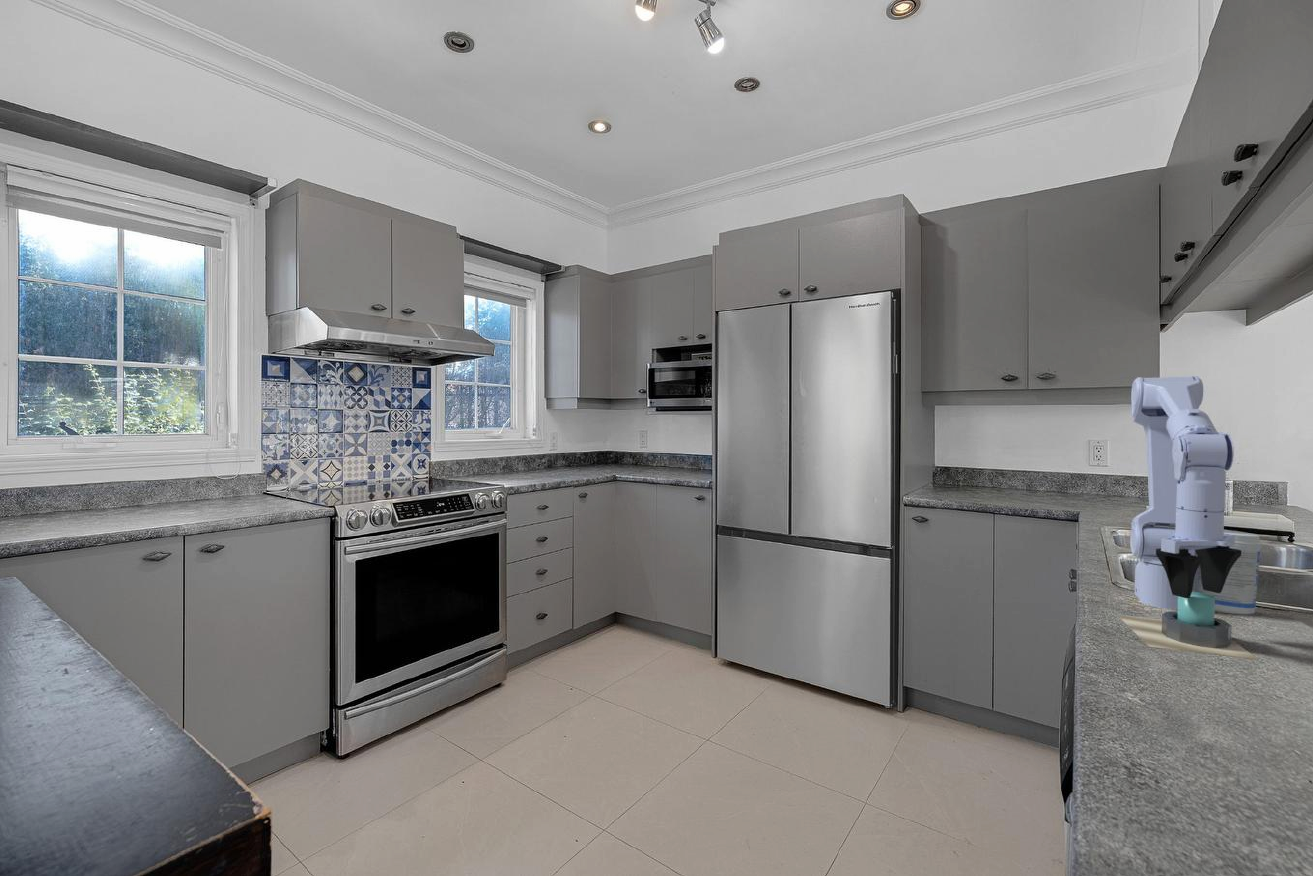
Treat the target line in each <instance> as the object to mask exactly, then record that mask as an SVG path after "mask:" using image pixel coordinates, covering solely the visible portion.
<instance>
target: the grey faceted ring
mask: <svg viewBox="0 0 1313 876" xmlns="http://www.w3.org/2000/svg"><path fill="white" fill-rule="evenodd" d="M1177 615H1178V610H1175V611H1165V612H1164V613H1163V614H1162V615H1161V619H1162V633H1163V634H1164V635H1165V636H1166V637H1168V638H1171V639H1173V640H1176V641H1178V642H1182V643H1186V644H1190V645H1195V646H1201V647H1209V648H1228V647H1229V646H1230V645H1231V640H1232V624H1230V622H1229V623H1228V622H1227V621H1226V620H1223V619H1220V618H1217V617H1214V626H1204V625H1196V624H1191V623H1187V622H1183V621H1180V620H1177Z"/></svg>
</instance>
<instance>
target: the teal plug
mask: <svg viewBox="0 0 1313 876" xmlns="http://www.w3.org/2000/svg"><path fill="white" fill-rule="evenodd" d="M1177 611H1178V615H1177V620H1180V621H1183V622H1187V623H1191V624H1196V625H1204V626H1214V618H1215V612H1216V611H1215V597H1214V596H1212V595H1209V594H1205V593H1200V592H1193V591H1192V593H1191V596H1190V598H1183V597H1179V596H1178V610H1177Z"/></svg>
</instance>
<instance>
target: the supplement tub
mask: <svg viewBox="0 0 1313 876" xmlns="http://www.w3.org/2000/svg"><path fill="white" fill-rule="evenodd" d="M1224 533H1227V534H1233V535H1235V546H1234V547H1229V548H1232V549H1238V550H1241V556H1240V557H1239V558H1238V559H1237V561H1236V562H1235V563H1234V565H1233V566H1232V568H1231V569H1230V571H1229V573H1228V576H1227V578H1226V581H1225V584H1224V587H1223V589H1222V591H1221V593H1215V592H1211V591H1206V590H1203V586H1202V580H1201V568H1200V565H1199V567H1198V568H1197V571H1196V574H1195V577H1194V582H1193V589H1192V591H1193V592H1200V593H1205V594H1209V595H1212V596H1214V597H1215V612H1218V613H1223V614H1232V615H1233V614H1234V615H1252V614H1255V613H1256V607H1257V605H1256V604H1257V592H1258V582H1259V581H1258V580H1259V571H1260V569H1259V567H1260V556H1261V543H1260V540H1261V539H1260V538H1261V537H1260V535H1258V534H1256V533H1251V532H1250V533H1249V532H1245V531H1238V530H1231V529H1229V530H1228V529H1224Z"/></svg>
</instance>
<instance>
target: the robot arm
mask: <svg viewBox="0 0 1313 876" xmlns="http://www.w3.org/2000/svg"><path fill="white" fill-rule="evenodd" d="M1130 395H1131V396H1130V397H1131V399H1130V400H1131V401H1130V402H1131V416H1132V421H1133V423H1136V424H1138V425H1141V426H1143V430H1144V434H1145V439H1146V440H1145V441H1146V463H1147V464H1146V465H1147V484H1148V485H1147V488H1148V489H1147V490H1148V493H1147V494H1148V509H1147V510H1145V511H1143V512H1141V513H1139V514H1137V515H1136V516H1134V517H1133V519H1132V521H1131V524H1130V525H1131V526H1130V527H1131V530H1130V537H1129V538H1130V539H1129V543H1130V551H1131V554H1132V556H1134V557H1135V558H1137V559H1139V561H1138V562H1137V564H1136V566H1135V569H1134V570H1135V571H1134V595H1135V597H1137V598H1138V601H1139V603H1142V604H1143V605H1147V606H1151V607H1154V608H1159V609H1165V610H1174V611H1178V596H1179V597H1183V598H1190V596H1191V593H1192V589H1193V582H1194V577H1195V574H1196V571H1197V568H1198V567H1199V565H1200V568H1201V580H1202V586H1203V590H1206V591H1211V592H1215V593H1221V591H1222V589H1223V587H1224V584H1225V581H1226V578H1227V576H1228V573H1229V571H1230V569H1231V568H1232V566H1233V565H1234V563H1235V562H1236V561H1237V559H1238V558H1239V557H1240V556H1241V550H1238V549H1232V548H1229V547H1234V546H1235V535H1233V534H1227V533H1224V530H1225V529H1224V528H1225V507H1226V505H1225V503H1226V502H1225V501H1226V482H1227V481H1226V480H1227V471H1229V470H1230V469H1231V468H1232V465H1233V462H1234V455H1235V453H1234V452H1235V451H1234V448H1235V447H1234V442H1233V439H1232V437H1231V434H1229V433H1227V432H1219V431H1217V429H1216V428H1215V425H1214V424H1213V422H1212V420H1211V418H1210V416H1209V415H1208V414H1207V413H1206V412H1204V411H1203V410H1200V409H1199V408H1200V406H1201V405H1202V402H1203V399H1204V383H1203V381H1202V379H1201V378H1200V377H1199V376H1197V375H1192V376H1176V377H1175V376H1171V377H1170V376H1169V377H1167V376H1166V377H1165V376H1163V377H1141V376H1138V377H1136V378H1135V380H1133V382H1132V385H1131V393H1130Z"/></svg>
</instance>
